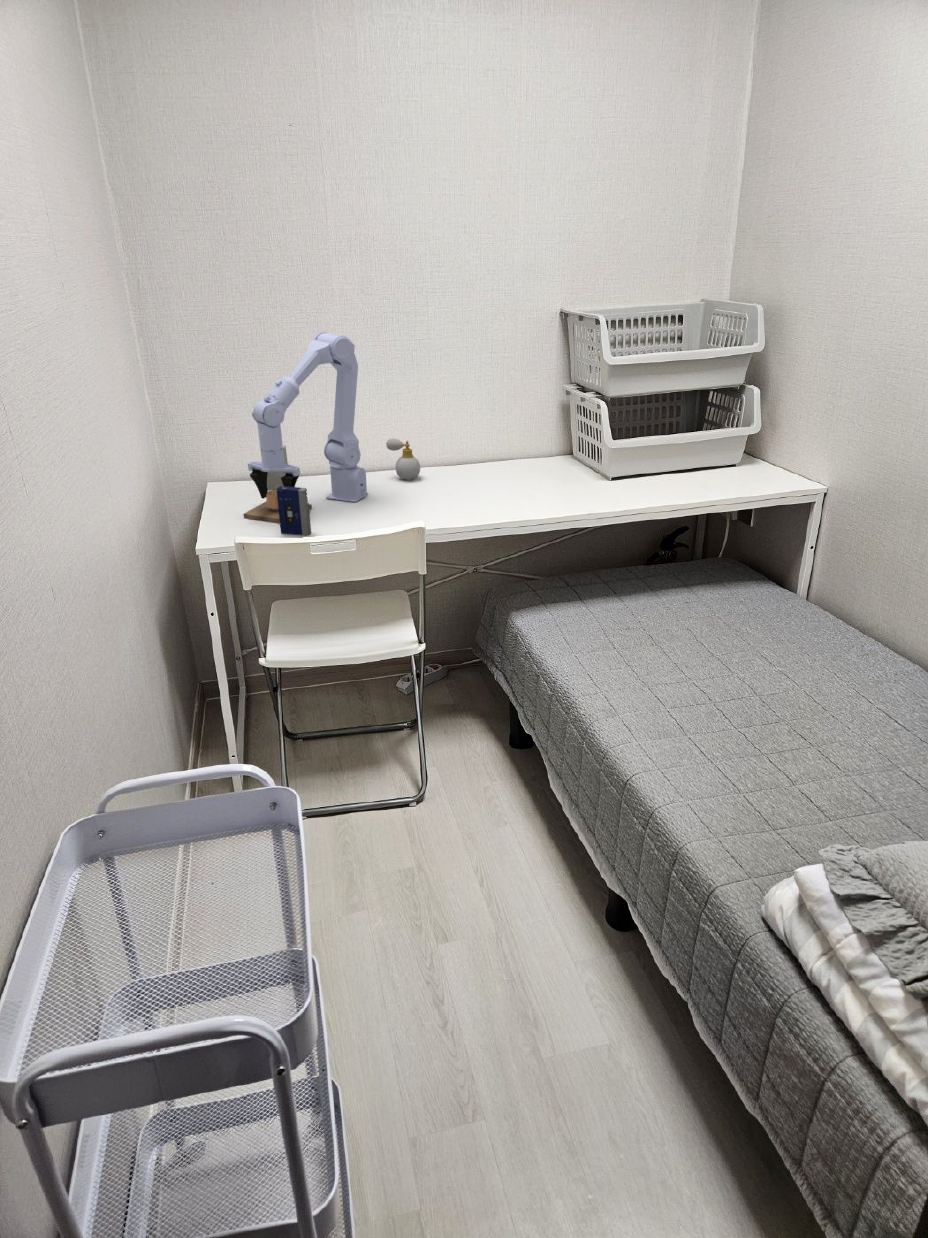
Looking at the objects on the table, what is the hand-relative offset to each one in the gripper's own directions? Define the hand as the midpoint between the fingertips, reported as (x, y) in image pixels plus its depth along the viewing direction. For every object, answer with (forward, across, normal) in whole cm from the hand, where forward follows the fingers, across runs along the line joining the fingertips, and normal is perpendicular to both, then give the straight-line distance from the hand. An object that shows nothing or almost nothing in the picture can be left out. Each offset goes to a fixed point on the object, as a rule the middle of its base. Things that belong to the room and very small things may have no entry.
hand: (276, 498), depth 220 cm
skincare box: (+4, -12, +19) cm, 23 cm away
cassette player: (+4, +12, -11) cm, 17 cm away
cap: (+2, 0, 0) cm, 2 cm away
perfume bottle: (+4, +19, +40) cm, 44 cm away
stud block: (+4, 0, 0) cm, 4 cm away
